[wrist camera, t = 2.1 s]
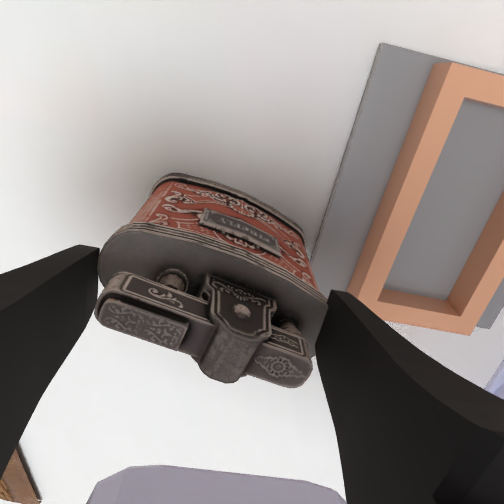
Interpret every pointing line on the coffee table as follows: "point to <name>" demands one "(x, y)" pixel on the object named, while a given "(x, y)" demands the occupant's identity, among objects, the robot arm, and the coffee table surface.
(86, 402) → the coffee table surface
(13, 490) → the wooden fragment
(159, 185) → the lighter
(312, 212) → the coffee table surface
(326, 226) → the holder
